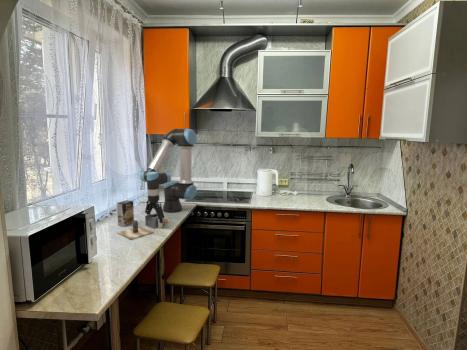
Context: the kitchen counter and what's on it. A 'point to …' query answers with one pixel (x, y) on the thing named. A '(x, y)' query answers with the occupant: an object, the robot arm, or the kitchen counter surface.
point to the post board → (136, 235)
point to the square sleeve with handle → (153, 220)
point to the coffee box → (125, 213)
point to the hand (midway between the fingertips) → (154, 225)
